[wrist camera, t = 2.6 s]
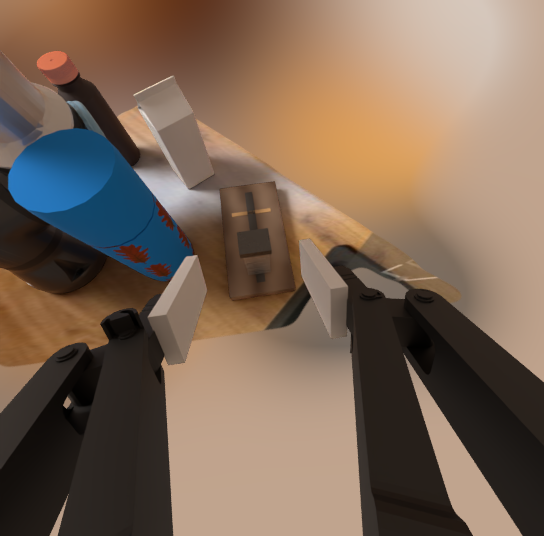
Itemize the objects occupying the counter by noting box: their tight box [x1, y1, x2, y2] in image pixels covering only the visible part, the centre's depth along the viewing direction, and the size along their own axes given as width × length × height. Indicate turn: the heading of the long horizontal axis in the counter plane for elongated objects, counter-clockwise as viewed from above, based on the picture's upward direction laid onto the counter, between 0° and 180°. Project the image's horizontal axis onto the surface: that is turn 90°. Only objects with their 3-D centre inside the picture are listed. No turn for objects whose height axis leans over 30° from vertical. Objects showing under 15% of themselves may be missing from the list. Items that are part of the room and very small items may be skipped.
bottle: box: [37, 51, 140, 166], centre depth 47 cm, size 7×7×20 cm
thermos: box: [8, 128, 194, 281], centre depth 35 cm, size 11×11×25 cm
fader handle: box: [237, 228, 272, 275], centre depth 38 cm, size 5×4×10 cm
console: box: [220, 181, 295, 300], centre depth 47 cm, size 12×24×3 cm, turn 9°
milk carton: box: [134, 76, 214, 189], centre depth 45 cm, size 7×7×19 cm
